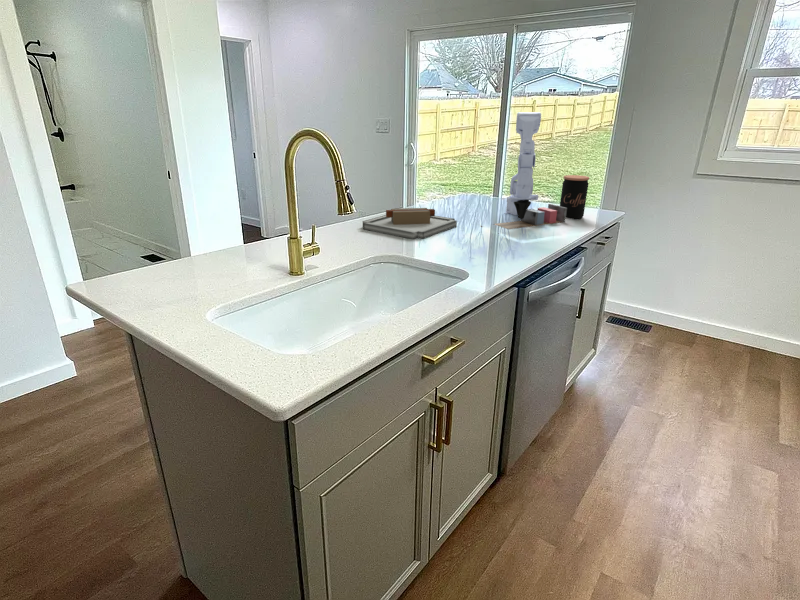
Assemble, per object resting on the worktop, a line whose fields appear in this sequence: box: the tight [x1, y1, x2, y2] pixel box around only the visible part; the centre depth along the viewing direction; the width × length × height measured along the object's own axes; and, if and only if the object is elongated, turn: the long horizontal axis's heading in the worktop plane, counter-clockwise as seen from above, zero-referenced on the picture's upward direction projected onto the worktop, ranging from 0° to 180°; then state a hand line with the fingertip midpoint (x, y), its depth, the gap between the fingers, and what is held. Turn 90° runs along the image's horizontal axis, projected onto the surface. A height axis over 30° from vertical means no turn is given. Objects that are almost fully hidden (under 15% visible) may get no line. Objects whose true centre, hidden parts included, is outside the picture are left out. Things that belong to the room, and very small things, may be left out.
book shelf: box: [494, 203, 567, 230], centre depth 194 cm, size 10×30×7 cm, turn 116°
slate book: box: [528, 208, 545, 226], centre depth 195 cm, size 8×4×5 cm, turn 26°
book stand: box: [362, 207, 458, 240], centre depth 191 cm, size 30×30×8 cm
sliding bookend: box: [520, 208, 538, 225], centre depth 194 cm, size 9×1×5 cm, turn 26°
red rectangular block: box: [537, 206, 557, 224], centre depth 198 cm, size 8×4×5 cm, turn 25°
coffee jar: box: [559, 174, 590, 221], centre depth 207 cm, size 11×11×18 cm
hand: (520, 218), depth 192 cm, fingers closed
